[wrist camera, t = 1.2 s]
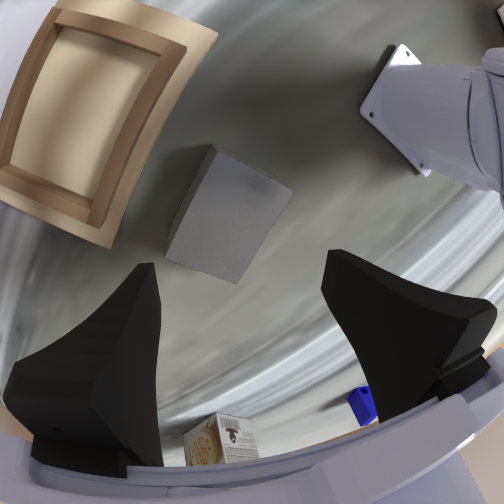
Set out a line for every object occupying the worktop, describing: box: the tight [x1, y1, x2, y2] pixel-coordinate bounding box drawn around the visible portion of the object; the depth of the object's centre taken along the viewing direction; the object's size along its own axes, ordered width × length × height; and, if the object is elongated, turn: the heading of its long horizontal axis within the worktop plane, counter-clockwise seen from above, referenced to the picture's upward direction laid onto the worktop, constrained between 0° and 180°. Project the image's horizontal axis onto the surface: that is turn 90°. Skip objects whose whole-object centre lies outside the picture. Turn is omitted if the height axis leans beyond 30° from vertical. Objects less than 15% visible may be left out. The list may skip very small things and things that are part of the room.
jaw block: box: [165, 143, 294, 285], centre depth 18 cm, size 5×7×4 cm
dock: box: [0, 0, 219, 250], centre depth 13 cm, size 12×16×3 cm
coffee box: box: [183, 413, 260, 490], centre depth 28 cm, size 9×6×16 cm
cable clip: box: [347, 386, 378, 426], centre depth 37 cm, size 12×4×6 cm, turn 73°
